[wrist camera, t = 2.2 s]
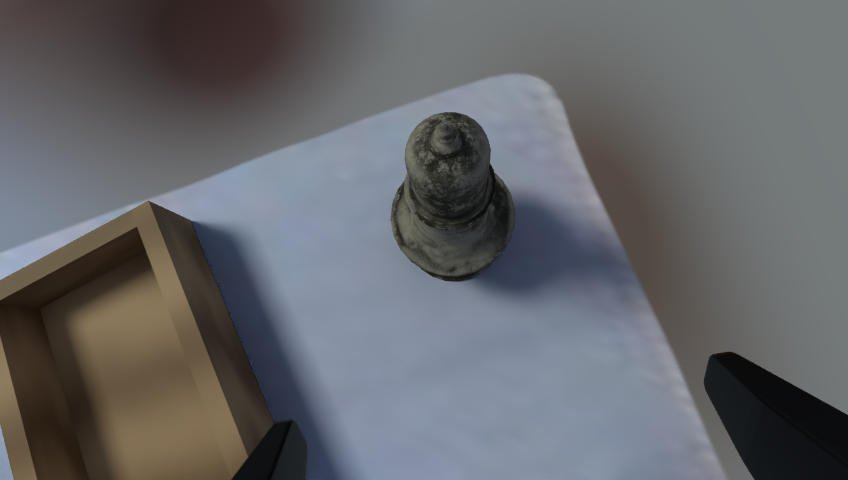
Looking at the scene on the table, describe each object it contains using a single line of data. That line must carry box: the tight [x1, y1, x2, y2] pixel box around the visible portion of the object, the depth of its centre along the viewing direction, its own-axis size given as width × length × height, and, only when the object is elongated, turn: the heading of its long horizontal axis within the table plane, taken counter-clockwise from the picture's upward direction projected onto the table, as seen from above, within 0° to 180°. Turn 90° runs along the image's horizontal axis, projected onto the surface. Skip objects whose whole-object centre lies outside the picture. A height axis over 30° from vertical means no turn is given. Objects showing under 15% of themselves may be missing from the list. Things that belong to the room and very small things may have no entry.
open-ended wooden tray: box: [0, 201, 274, 480], centre depth 22 cm, size 16×10×4 cm, turn 29°
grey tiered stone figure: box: [391, 112, 515, 281], centre depth 18 cm, size 6×6×12 cm
